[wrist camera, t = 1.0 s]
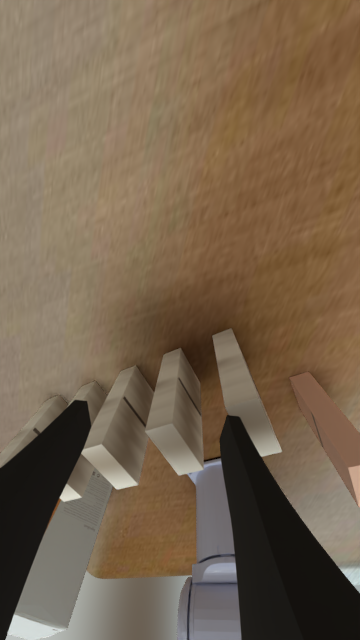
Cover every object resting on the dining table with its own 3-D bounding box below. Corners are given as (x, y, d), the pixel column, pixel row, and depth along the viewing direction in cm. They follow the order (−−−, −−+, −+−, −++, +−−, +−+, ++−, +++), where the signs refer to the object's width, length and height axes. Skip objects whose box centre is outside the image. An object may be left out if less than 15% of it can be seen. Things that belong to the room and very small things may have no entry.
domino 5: (248, 366, 21) (282, 451, 13) (229, 373, 22) (251, 458, 14) (231, 328, 20) (258, 397, 11) (212, 335, 20) (224, 407, 12)
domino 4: (200, 383, 23) (204, 469, 14) (183, 388, 23) (178, 475, 15) (180, 347, 21) (172, 423, 13) (163, 354, 21) (144, 431, 13)
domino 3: (157, 397, 24) (138, 484, 16) (142, 402, 24) (116, 489, 16) (135, 365, 22) (101, 444, 14) (120, 371, 23) (78, 451, 14)
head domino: (318, 404, 23) (389, 502, 14) (300, 409, 23) (358, 507, 15) (308, 371, 21) (382, 460, 13) (288, 377, 22) (347, 467, 13)
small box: (80, 458, 29) (4, 612, 18) (117, 477, 31) (68, 632, 19) (56, 481, 32) (-24, 627, 20) (91, 497, 34) (34, 644, 22)
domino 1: (84, 422, 26) (34, 508, 18) (71, 426, 27) (17, 512, 19) (59, 394, 25) (-8, 476, 16) (47, 399, 25) (-25, 481, 17)
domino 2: (118, 410, 25) (82, 497, 17) (105, 414, 26) (63, 501, 17) (95, 380, 23) (42, 461, 15) (81, 386, 24) (22, 467, 16)
